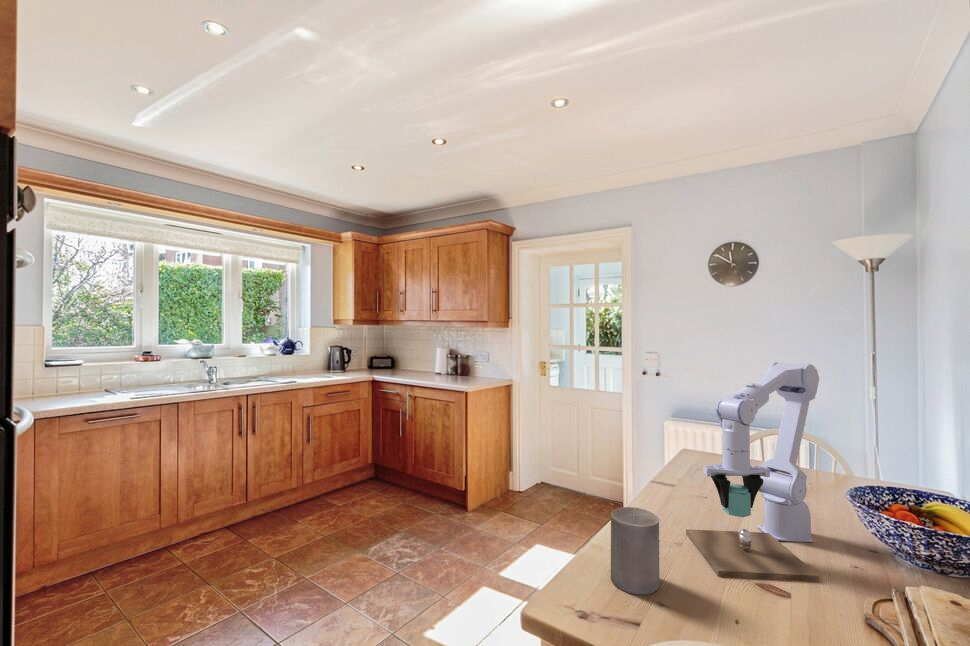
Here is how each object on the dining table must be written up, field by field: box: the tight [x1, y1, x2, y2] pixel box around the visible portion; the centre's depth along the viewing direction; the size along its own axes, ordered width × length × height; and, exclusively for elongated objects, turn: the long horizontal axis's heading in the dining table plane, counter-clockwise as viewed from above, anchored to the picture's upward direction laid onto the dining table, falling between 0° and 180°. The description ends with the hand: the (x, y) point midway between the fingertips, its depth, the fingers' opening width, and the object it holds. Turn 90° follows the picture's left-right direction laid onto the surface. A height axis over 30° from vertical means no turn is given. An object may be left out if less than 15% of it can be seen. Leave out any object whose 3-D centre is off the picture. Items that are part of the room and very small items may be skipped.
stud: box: [738, 528, 751, 550], centre depth 104 cm, size 2×2×5 cm
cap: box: [722, 482, 752, 518], centre depth 107 cm, size 5×6×6 cm
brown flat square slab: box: [685, 529, 820, 582], centre depth 104 cm, size 20×20×1 cm
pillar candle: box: [610, 506, 661, 596], centre depth 93 cm, size 10×10×15 cm
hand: (736, 506), depth 107 cm, fingers closed on cap, 5 cm apart
